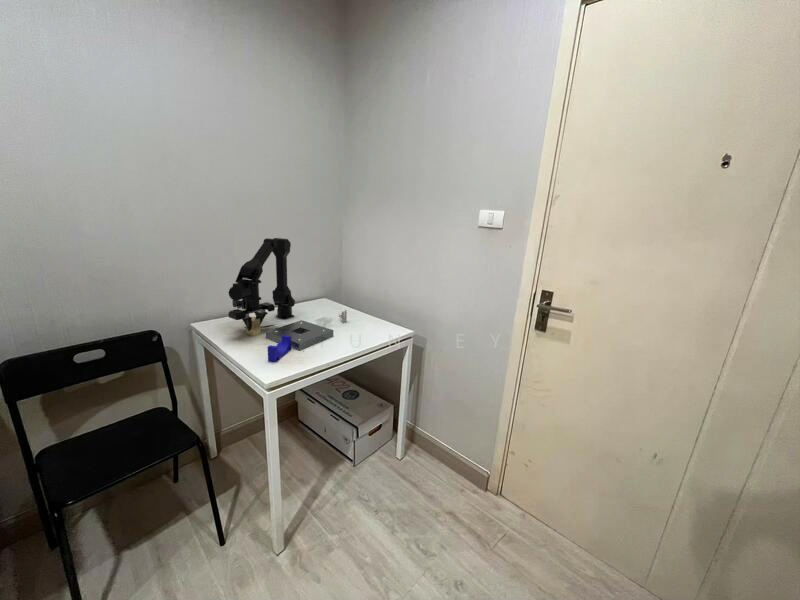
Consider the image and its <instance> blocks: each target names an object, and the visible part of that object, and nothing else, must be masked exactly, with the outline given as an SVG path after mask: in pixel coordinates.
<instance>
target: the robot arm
mask: <svg viewBox="0 0 800 600" xmlns="http://www.w3.org/2000/svg"><path fill="white" fill-rule="evenodd" d="M291 246H292V245H291V241H289V239H288V238H281V237H274V238H270V237H269V238H268V237H267V238H265V239H264V240H263V242H262V244H261V246H260V247H259V249H258V250H257V251H256V253H255V255H254V256H253V257H252V258H251V259H250V260H249V261H246V262H245V263H244V264H243V265H242V266H241V267H240V269H239V272H238V274H237V277H236V279H235V280H234V281H235V283H232V287H230V288H229V290H228V296H229V298H230V299H231V300H232V307H233V308H236V307H237V308H236V309H233V310H230V311H229V312H228V318H229V319H232V320H234V321H240V320H242V321H243V323H244V326H245V327H247V328H246V330H247V329H248V331H250V330H251V319H252V317H253V316H250V315H251V314H254V315H255V317H257V318H260V326H261V325H262V323H263V321H264V319H265V317H266V316H267V315H268V313H270V312H274V311H275V310H276V311H277V312H276V313H277V315H276V316H275V317H276V318H279V319H282V320H287V319H290V318H293V317H295V315H293V308H294V306H295V305H296V300H295V299H294V297H293V296H292V291H291V290H290V288H289V286H288V268H287V267H288V262H287V261H288V258H287V257H288V255H289V254H290V252H291ZM272 253H273V255H274V256H275V272H276V273H275V274H276V275H275V276H276V287H275V289H273V290H272V300H273V303H270V302H266V301H265V302H262V303H260V301H262V297H260V289H259V288H260V287H259V284H261V283H262V280H261V279H260V278H261V276H262V274H263V272H264V270H263V267H264V265H265V263H266V262H267V260H268V258H270V256H271V254H272ZM275 306H277V309H275ZM241 309H242V310H241ZM266 310H267V311H268V312H267V311H266Z"/></svg>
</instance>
